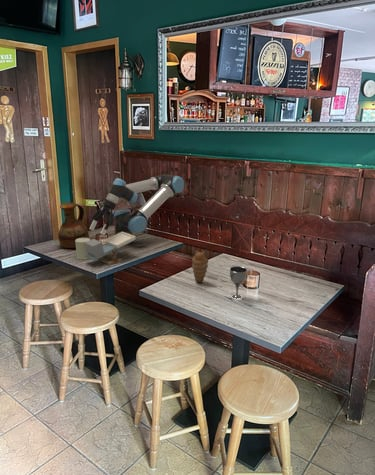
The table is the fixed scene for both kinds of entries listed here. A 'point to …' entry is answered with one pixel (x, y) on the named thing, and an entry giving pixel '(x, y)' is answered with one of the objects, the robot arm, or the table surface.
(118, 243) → the balance beam
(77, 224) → the ceramic pitcher
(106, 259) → the pivot stand
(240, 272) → the wine glass
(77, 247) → the can
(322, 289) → the table surface
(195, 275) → the brown tapered upright piece
